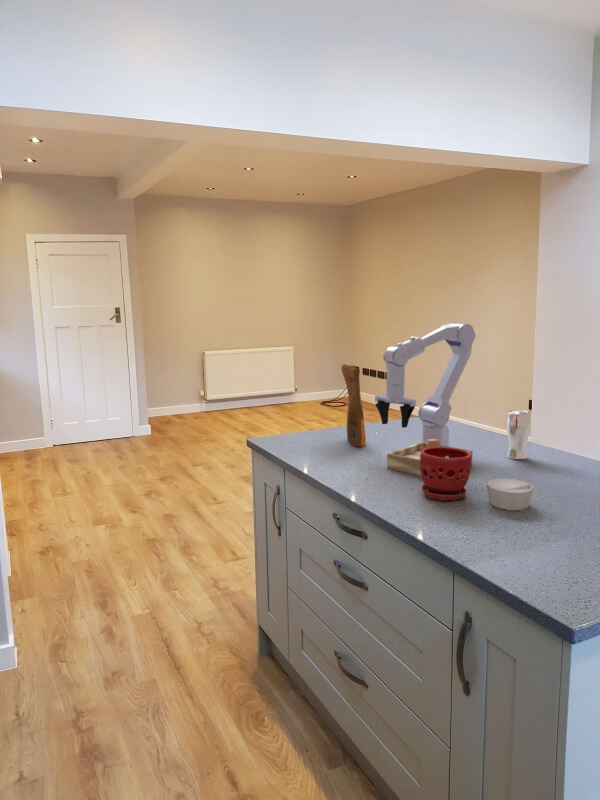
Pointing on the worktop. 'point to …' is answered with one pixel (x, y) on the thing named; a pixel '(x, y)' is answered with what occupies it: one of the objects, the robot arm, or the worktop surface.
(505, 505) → the ramekin
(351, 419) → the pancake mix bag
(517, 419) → the beer glass
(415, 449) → the box
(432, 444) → the peg
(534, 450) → the worktop surface
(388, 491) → the worktop surface
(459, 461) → the plant pot
